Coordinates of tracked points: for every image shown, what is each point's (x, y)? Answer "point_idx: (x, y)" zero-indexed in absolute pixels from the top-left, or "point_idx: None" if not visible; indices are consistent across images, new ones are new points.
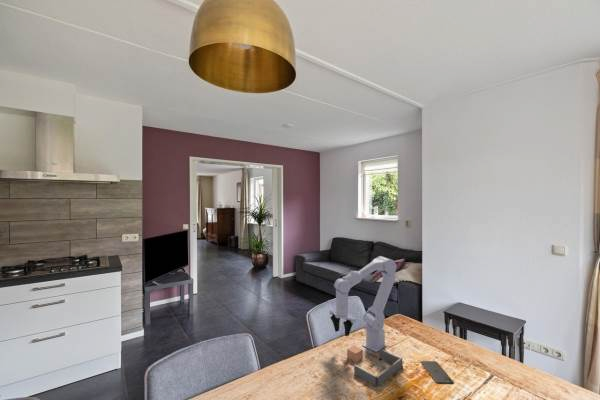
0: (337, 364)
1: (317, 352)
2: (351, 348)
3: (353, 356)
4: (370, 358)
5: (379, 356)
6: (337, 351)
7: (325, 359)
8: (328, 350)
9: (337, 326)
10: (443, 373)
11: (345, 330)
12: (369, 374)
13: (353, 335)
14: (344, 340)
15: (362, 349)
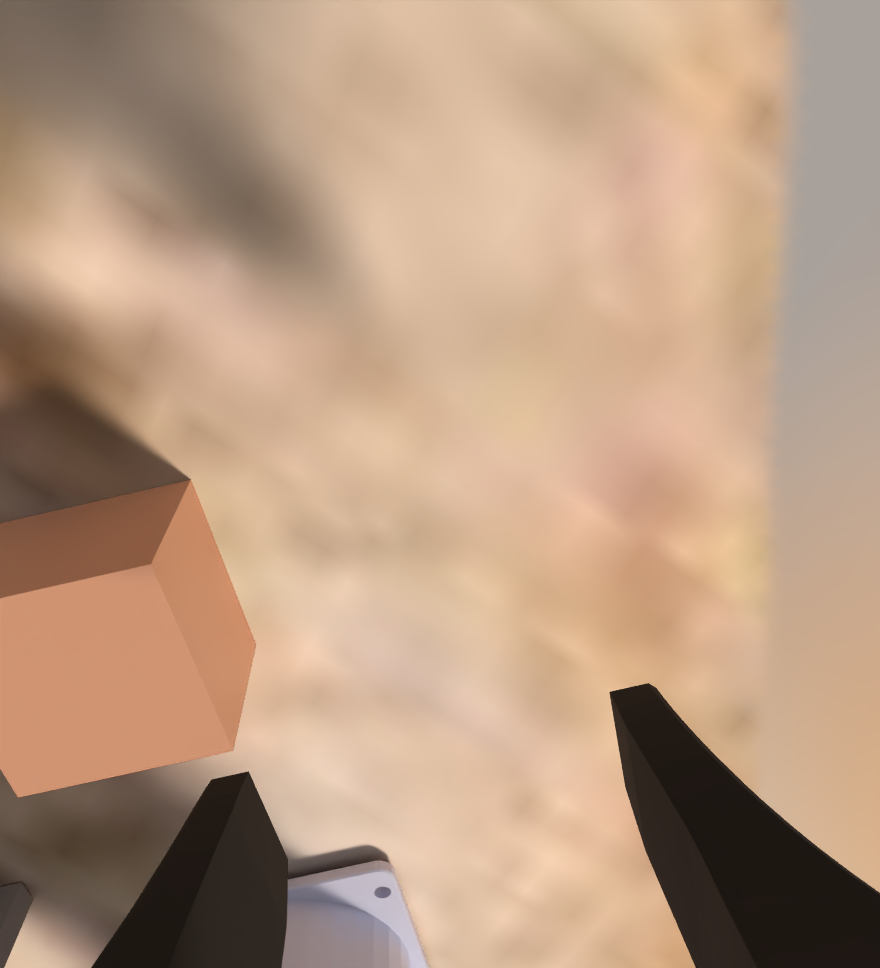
0: (29, 159)
1: (654, 19)
2: (137, 651)
3: (9, 555)
4: None
5: (17, 889)
6: (453, 443)
7: (310, 19)
8: (579, 305)
9: (669, 865)
10: None
11: (154, 936)
12: None
13: None
14: None
15: (21, 796)
